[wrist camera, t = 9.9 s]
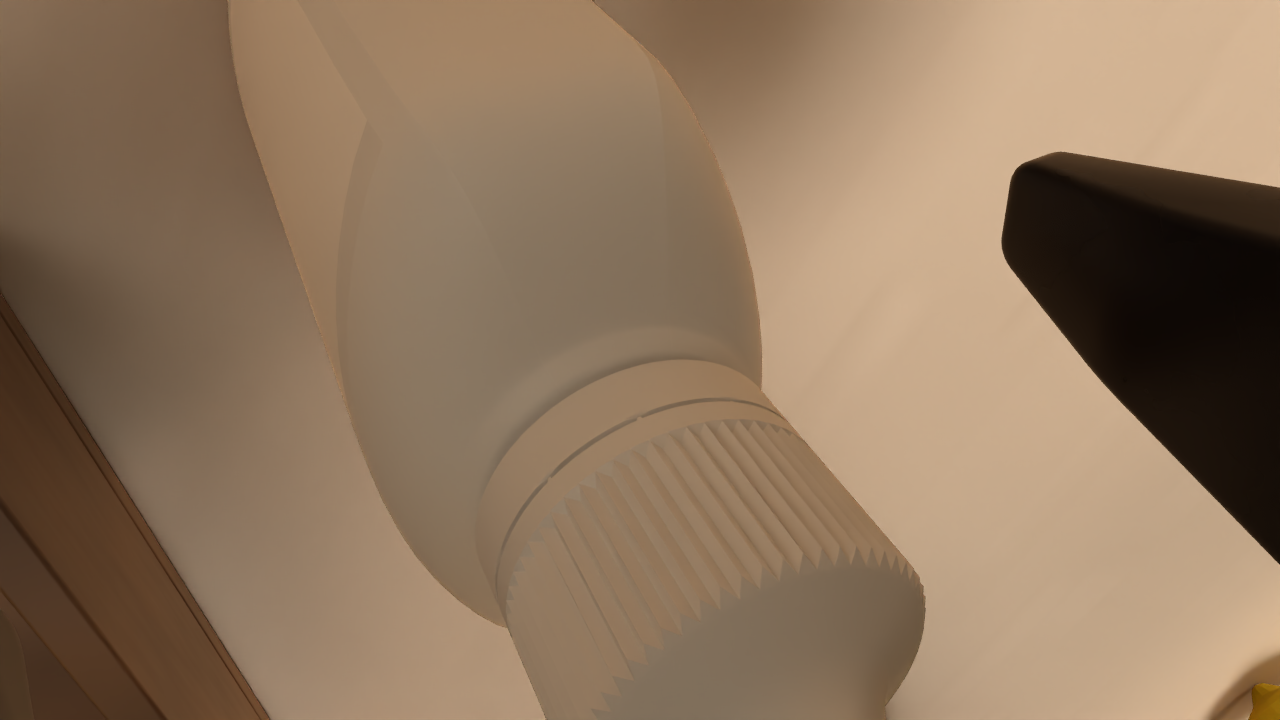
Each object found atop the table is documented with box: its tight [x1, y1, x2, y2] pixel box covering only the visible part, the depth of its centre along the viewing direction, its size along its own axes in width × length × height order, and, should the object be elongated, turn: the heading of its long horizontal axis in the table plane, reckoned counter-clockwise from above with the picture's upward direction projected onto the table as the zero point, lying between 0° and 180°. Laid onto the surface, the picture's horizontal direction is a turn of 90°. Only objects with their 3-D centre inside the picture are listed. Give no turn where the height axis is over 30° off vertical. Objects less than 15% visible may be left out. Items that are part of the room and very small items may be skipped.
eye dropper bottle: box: [228, 0, 926, 720], centre depth 9 cm, size 4×6×12 cm
